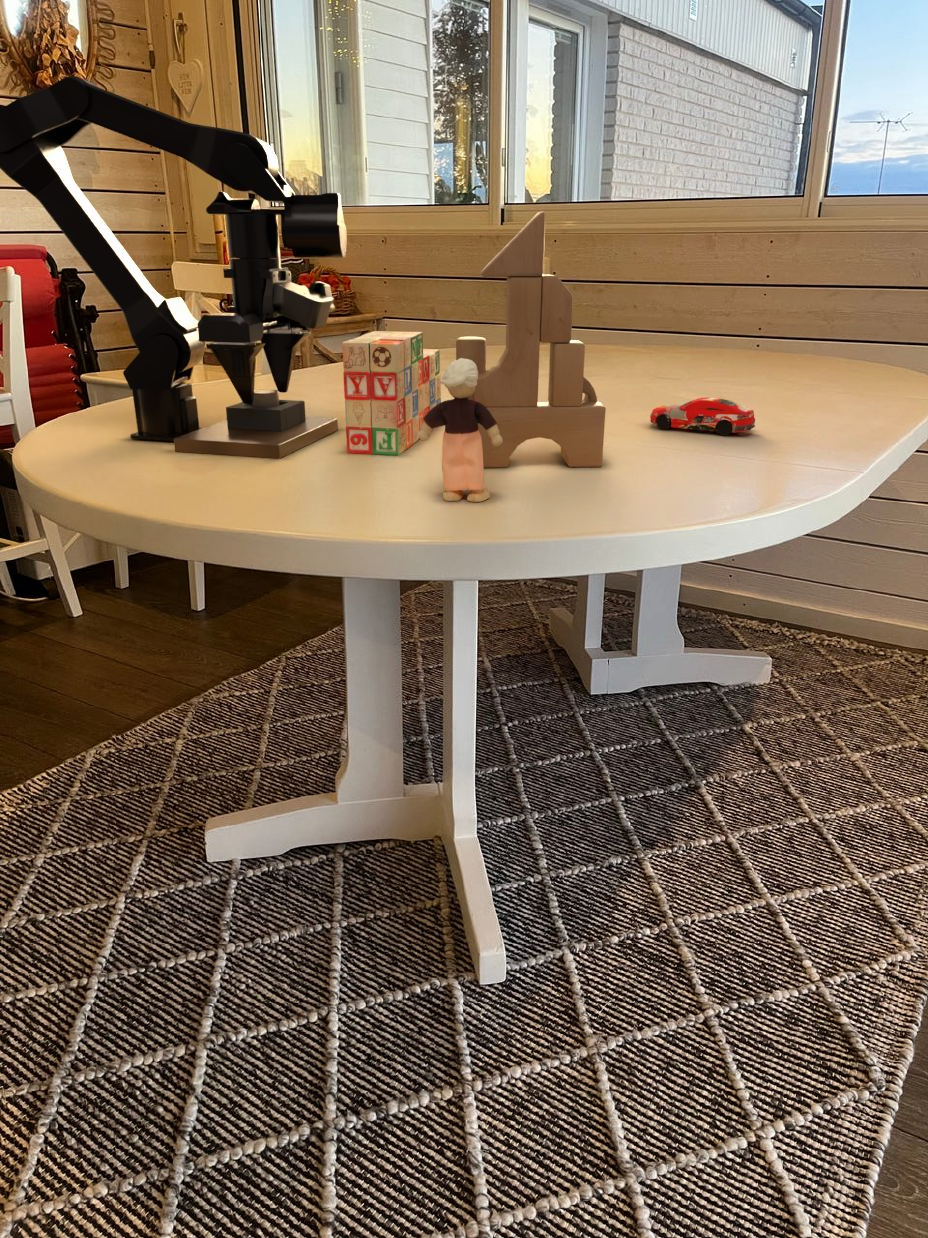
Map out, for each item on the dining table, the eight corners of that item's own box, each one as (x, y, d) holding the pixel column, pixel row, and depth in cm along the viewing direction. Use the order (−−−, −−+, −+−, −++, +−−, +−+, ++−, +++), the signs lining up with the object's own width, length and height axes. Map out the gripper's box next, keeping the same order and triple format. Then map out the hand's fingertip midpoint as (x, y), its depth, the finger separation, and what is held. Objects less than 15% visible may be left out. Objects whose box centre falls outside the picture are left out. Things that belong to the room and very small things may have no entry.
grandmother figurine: (499, 492, 88) (502, 355, 83) (502, 502, 84) (504, 361, 79) (419, 492, 88) (417, 355, 83) (418, 503, 84) (416, 360, 79)
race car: (643, 428, 118) (645, 397, 117) (657, 422, 123) (659, 391, 121) (746, 438, 112) (750, 405, 111) (757, 431, 117) (760, 399, 115)
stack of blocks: (396, 419, 123) (394, 323, 118) (441, 421, 122) (441, 324, 117) (346, 453, 104) (341, 340, 99) (399, 455, 102) (396, 341, 98)
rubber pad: (227, 428, 109) (225, 407, 108) (254, 418, 115) (252, 398, 114) (281, 431, 107) (280, 410, 106) (306, 421, 114) (304, 400, 113)
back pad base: (174, 451, 104) (169, 402, 102) (245, 424, 119) (241, 381, 117) (279, 458, 101) (275, 408, 99) (338, 430, 116) (336, 385, 114)
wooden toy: (590, 453, 104) (604, 213, 94) (602, 467, 98) (618, 211, 88) (455, 454, 103) (455, 212, 94) (458, 468, 97) (458, 210, 87)
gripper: (284, 260, 94) (295, 414, 100) (351, 257, 110) (357, 389, 116) (187, 259, 96) (203, 409, 102) (267, 257, 113) (276, 385, 119)
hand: (266, 397), depth 110 cm, fingers open, 9 cm apart
